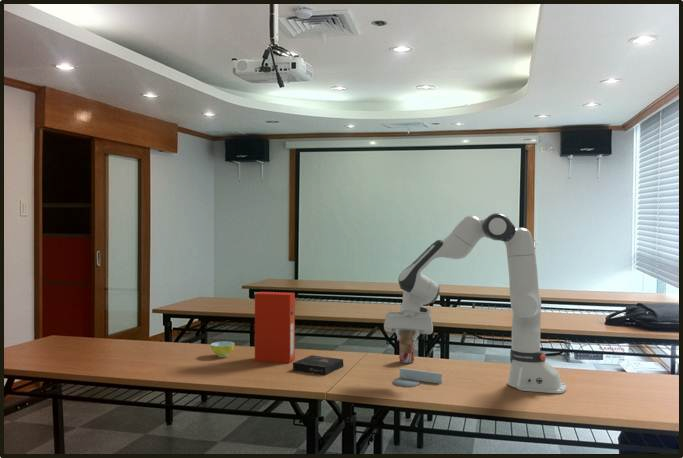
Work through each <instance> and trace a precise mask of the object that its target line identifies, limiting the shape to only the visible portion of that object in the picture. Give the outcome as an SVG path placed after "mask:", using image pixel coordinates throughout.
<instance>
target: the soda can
mask: <svg viewBox="0 0 683 458" xmlns="http://www.w3.org/2000/svg"><path fill="white" fill-rule="evenodd" d="M398 343H399V345H398V347H399V348H398V350H399V352H398V355H399V357H398V358H399V359H398V360H399V362H400V363H403V364H412V363H413V362H414V361H415V342H413V352H412V353H411V354H410V353H400V341H398Z"/></svg>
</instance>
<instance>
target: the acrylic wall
mask: <svg viewBox="0 0 683 458" xmlns="http://www.w3.org/2000/svg"><path fill="white" fill-rule="evenodd" d="M398 379H412V380H416V381H418V382H425V383H426V382H427V383H432V384H433V383H434V384H438V385H442V383H443V373H442V372H433V371H426V370H418V369H410V368H402V367H401V368H400V367H399V377H398Z"/></svg>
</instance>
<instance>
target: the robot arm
mask: <svg viewBox="0 0 683 458" xmlns="http://www.w3.org/2000/svg"><path fill="white" fill-rule="evenodd" d="M483 238H488V239H491V240H493V241H501V242H503V243H504V245H505V248H506V249H505V250H506V257H507V258H506V259H507V269H508V278H509V279H508V281H509V300H510V307H511V311H512V319H511V320H512V321H511V322H512V324H511V348H510V352H509V358H510V359H509V362H510V370H509V375H508V379H507V381H506V383H507V385H508V386H510V387H513V388H514V389H517V390H518V391H524V392H535V393H536V392H537V393H545V394H546V393H548V394H562V393H565V392H566V390H567V385H566V384H565V383H564V382H561V381H562V380H561V376H560V373H559V371H558V370H557V369H556V368H554V367H553V366H552V364H550V363H548V362H547V361H546V358H547V356H546V352H543V351H542V350H541V326H542V325H541V324H542V323H541V321H542V317H541V316H542V297H541V295H540V290H539V277H538V267H537V266H538V265H537V257H536V256H537V255H536V248H535V242H534V239H533V235H532V233H531V231H530V230H529V229H528V228H525V227H516V226H515V225H514V224H513V222H512V221H511V220H510V218H509V217H508V216H507V215H506V214H504V213H500V212H499V213H498V212H495V213H492V214H490V215H488V216H487V217H485V218H483V219H481V218H479V217H477V216H475V215H466V216H465V217H464V218H462V220H460V222H458V224H457V225H456V226H455V227H454V228H453V230H452V231H451V232H450V234H448V235H447V236H446V237H445V238H443V239H437V240H435V241H434V242H433V243H431V244H430V246H429V247H427V248H426V249H425V250H424V251H423V252H422V253H421V254H420V255H419V256H418V257H417V258H416V259H415V260H414V261H413V262H411V264H410V265H409V266H408V267H406V268H404V269H403V270H402V271H401V273H400V274H399V276H398V278H397V279H398V285H399V288H400V289H401V290H403V293H402V303H401V304H400V311H389V312H386V314H385V317H384V319H385V320H384V323H383V328H384V331H385V332H387V333H388V332H389V333H395V334H396V336H397V337H396V338H397V339H396V340H397V341H398V342H400V333H401V332H402V331H405V332H413V336H412V342H414V343H416V341H417V340H416V339H417V338H418V337H419V336H420V335H431V334H433V332H434V325H433V318H432V312H431V310H430V308H427V307H424V306H426V305H427V306H428V305H429V304H432V303H434V302H436V301H437V300H438V299H439V295H440V285H439V283H437V282H436V281H435V280H433V279H431V278H429V277H428V276H426V275H424V274H423V273H422V272H423V271H424V269H426V268H427V266H428V265H430V264H431V262H432V261H434V260H436V259H439V258H446V259H451V260H461V259H465V258H466V257H467V256H468V255H470V253H471V252H472V250H473V249H474V248H475V246H476V244H477V243H478V242H479V241H480V240H482V239H483Z"/></svg>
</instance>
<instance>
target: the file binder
mask: <svg viewBox="0 0 683 458" xmlns="http://www.w3.org/2000/svg"><path fill="white" fill-rule="evenodd" d="M295 294H296V293H295V292H278V291H276V292H275V291H259V292H256V293H254V361H255V362H263V363H264V362H266V363H268V362H269V363H279V364H280V363H282V364H283V363H284V364H291V363H293V362H294V360H295V358H296V357H295V355H296V354H295V353H296V352H295V351H296V349H295V348H296V347H295V345H296V343H295V341H296V338H295V337H296V336H295V335H296V333H295V331H296V330H295V329H296V325H295V324H296V323H295V322H296V321H295V320H296V319H295V318H296V316H295V315H296V314H295V313H296V312H295V311H296V309H295V305H296V304H295V303H296V302H295V301H296V296H295Z"/></svg>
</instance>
